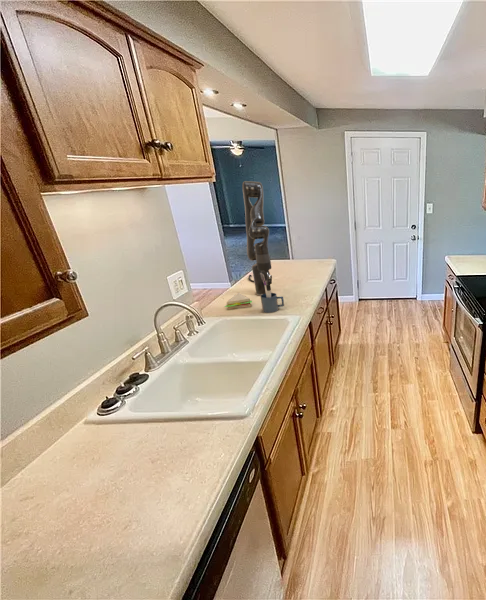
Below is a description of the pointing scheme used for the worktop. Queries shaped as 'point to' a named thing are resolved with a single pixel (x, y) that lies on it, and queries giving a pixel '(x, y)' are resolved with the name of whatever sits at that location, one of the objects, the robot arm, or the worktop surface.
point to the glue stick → (268, 293)
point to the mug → (271, 303)
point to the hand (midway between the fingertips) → (267, 289)
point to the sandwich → (238, 301)
